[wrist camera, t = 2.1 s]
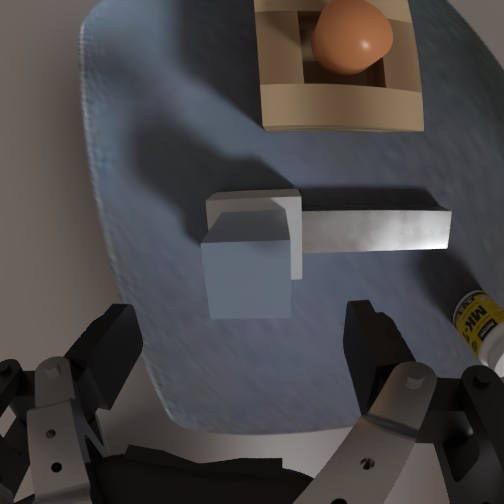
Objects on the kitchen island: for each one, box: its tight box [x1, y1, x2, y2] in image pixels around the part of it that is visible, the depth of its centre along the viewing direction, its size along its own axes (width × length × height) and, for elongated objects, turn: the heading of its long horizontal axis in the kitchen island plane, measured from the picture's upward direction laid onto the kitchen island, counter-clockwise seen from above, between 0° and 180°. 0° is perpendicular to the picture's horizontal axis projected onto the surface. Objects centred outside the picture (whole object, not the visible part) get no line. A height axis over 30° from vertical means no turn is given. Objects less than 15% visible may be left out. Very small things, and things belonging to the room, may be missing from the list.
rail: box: [302, 204, 452, 253], centre depth 22 cm, size 18×3×2 cm, turn 93°
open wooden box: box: [254, 0, 424, 132], centre depth 15 cm, size 8×8×8 cm
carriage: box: [201, 189, 302, 319], centre depth 18 cm, size 6×6×9 cm
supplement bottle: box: [453, 290, 504, 377], centre depth 20 cm, size 5×5×8 cm
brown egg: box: [311, 0, 393, 76], centre depth 10 cm, size 3×3×3 cm
